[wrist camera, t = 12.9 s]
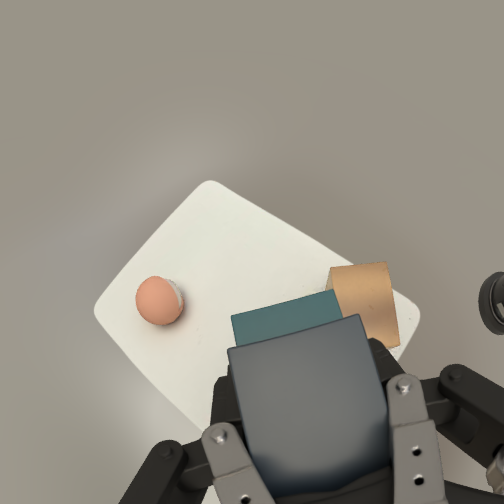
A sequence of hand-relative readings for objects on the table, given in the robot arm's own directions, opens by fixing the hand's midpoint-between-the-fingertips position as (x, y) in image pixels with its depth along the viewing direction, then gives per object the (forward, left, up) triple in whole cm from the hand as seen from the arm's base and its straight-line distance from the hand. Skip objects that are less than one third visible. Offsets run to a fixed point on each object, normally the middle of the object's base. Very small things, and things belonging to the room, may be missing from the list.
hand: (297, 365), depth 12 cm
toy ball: (+17, -17, -31) cm, 39 cm away
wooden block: (-9, -4, -31) cm, 32 cm away
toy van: (0, +2, -4) cm, 4 cm away
